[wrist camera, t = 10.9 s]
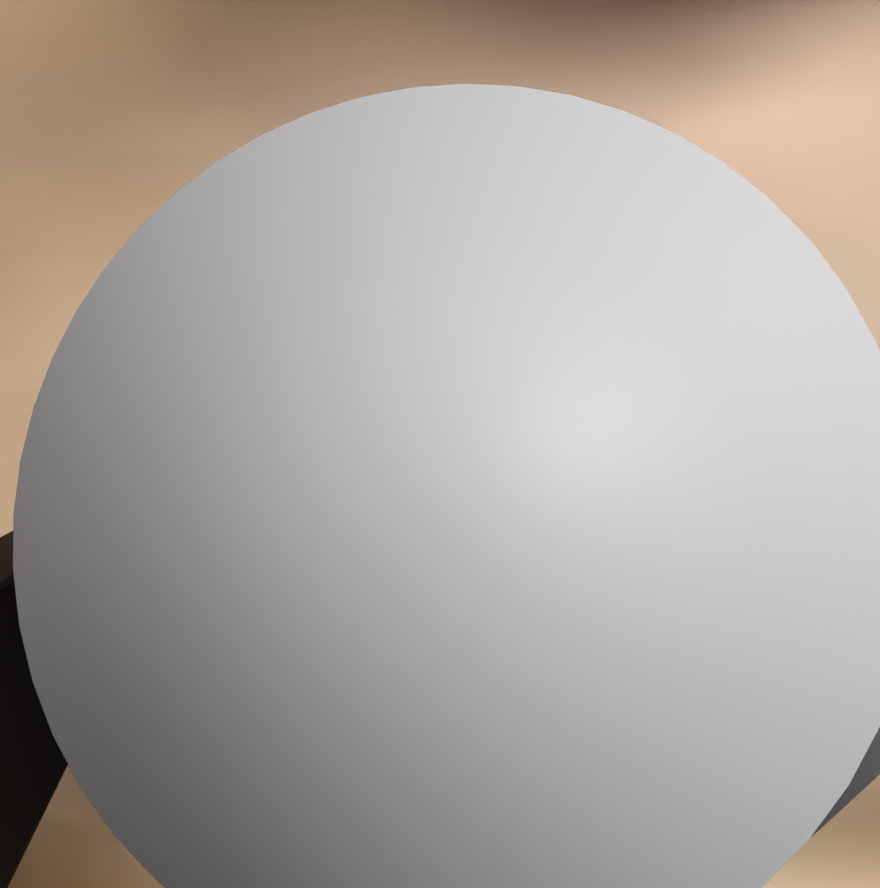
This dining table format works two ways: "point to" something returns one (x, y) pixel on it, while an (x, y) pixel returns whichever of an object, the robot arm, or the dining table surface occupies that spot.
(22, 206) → the dining table surface
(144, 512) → the pin
